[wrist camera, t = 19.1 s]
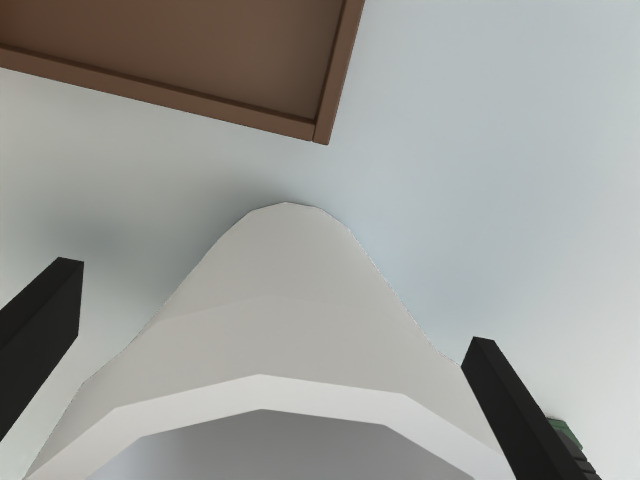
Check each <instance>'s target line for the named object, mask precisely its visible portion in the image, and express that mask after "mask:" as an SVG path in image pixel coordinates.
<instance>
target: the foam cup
mask: <svg viewBox="0 0 640 480" xmlns="http://www.w3.org/2000/svg"><path fill="white" fill-rule="evenodd" d="M22 480H516V478H515V476H514V474H513V472H512V469H511V467H510V465H509V463H508V461H507V459H506V457H505V455H504V453H503V451H502V449H501V447H500V445H499V443H498V441H497V439H496V437H495V435H494V433H493V431H492V429H491V427H490V425H489V423H488V421H487V419H486V417H485V415H484V413H483V411H482V409H481V407H480V405H479V403H478V401H477V399H476V397H475V395H474V393H473V391H472V389H471V387H470V385H469V383H468V381H467V379H466V377H465V376H464V374H463V372H462V370H461V368H460V366H459V365H458V364H456V363H455V362H453V361H452V360H450V359H449V358H447V357H446V356H444V355H443V354H441V353H440V352H438V351H437V350H436V349H435V348H434V346H433V345H432V344H431V342H430V341H429V339H428V338H427V337H426V335H425V334H424V332H423V331H422V330H421V328H420V327H419V325H418V324H417V323H416V321H415V320H414V319H413V317H412V316H411V314H410V313H409V312H408V310H407V309H406V307H405V306H404V305H403V303H402V302H401V301H400V299H399V298H398V296H397V295H396V294H395V292H394V291H393V289H392V288H391V287H390V285H389V284H388V282H387V281H386V280H385V278H384V277H383V276H382V274H381V273H380V271H379V270H378V269H377V267H376V266H375V264H374V263H373V262H372V260H371V259H370V257H369V256H368V255H367V253H366V252H365V251H364V249H363V248H362V246H361V245H360V244H359V242H358V241H357V239H356V238H355V237H354V235H353V234H352V232H350V231H349V229H348V228H347V227H346V226H344V225H343V224H342V223H340V222H339V221H337V220H336V219H335V218H333V217H332V216H330V215H329V214H328V213H326V212H325V211H323V210H322V209H321V208H316V207H311V206H305V205H300V204H294V203H289V202H283V203H279V204H275V205H271V206H267V207H263V208H259V209H255V210H251V211H250V212H249V213H248V214H246V215H245V216H244V217H243V218H242V219H240V220H239V221H238V222H237V223H236V224H234V225H233V226H232V227H231V228H230V229H229V230H227V231H226V232H225V234H224V235H222V236H221V237H220V238H219V240H218V241H217V242H216V243H215V244H214V245H213V247H212V248H211V249H210V250H209V251H208V252H207V254H206V255H205V256H204V257H203V258H202V260H201V261H200V262H199V263H198V264H197V265H196V267H195V268H194V269H193V270H192V271H191V272H190V274H189V275H188V276H187V277H186V278H185V280H184V281H183V282H182V283H181V284H180V285H179V287H178V288H177V289H176V290H175V291H174V292H173V294H172V295H171V296H170V297H169V298H168V300H167V301H166V302H165V303H164V304H163V305H162V307H161V308H160V309H159V310H158V311H157V312H156V314H155V315H154V316H153V317H152V318H151V319H150V321H149V322H148V323H147V324H146V325H145V327H144V328H143V329H142V330H141V331H140V332H139V334H138V335H137V336H136V337H135V338H134V339H133V341H132V342H131V343H130V344H129V345H128V347H127V348H125V349H124V350H123V351H122V352H120V353H119V354H118V355H117V356H116V357H114V358H113V359H112V360H111V361H109V362H108V363H107V364H106V365H105V366H103V367H102V368H101V369H100V370H99V371H97V372H96V373H95V374H94V375H92V376H91V377H90V378H89V379H88V380H86V381H85V382H84V383H83V384H82V386H81V387H80V389H79V390H78V392H77V393H76V395H75V397H74V398H73V400H72V401H71V403H70V405H69V406H68V408H67V409H66V411H65V413H64V414H63V416H62V417H61V419H60V421H59V422H58V424H57V425H56V427H55V428H54V430H53V432H52V433H51V435H50V436H49V438H48V440H47V441H46V443H45V444H44V446H43V448H42V449H41V451H40V452H39V454H38V456H37V457H36V459H35V460H34V462H33V463H32V465H31V467H30V468H29V470H28V471H27V473H26V475H25V476H24V478H23V479H22Z"/></svg>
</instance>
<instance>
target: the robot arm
mask: <svg viewBox="0 0 640 480" xmlns="http://www.w3.org/2000/svg"><path fill="white" fill-rule="evenodd" d="M83 269H84V262H83V261H78V260H72V259H67V258H62V257H58V258H57V259H56V260H55V261H53V262H52V263H51V264H50V265H49V266H48V267H47V268H46V269H45V270H44V271H43V272H42V273H40V274H39V275H38V276H37V277H36V278H35V279H34V280H33V281H32V282H31V283H30V284H28V285H27V286H26V287H25V288H24V289H23V290H22V291H21V292H20V293H19V294H18V295H16V296H15V297H14V298H13V299H12V300H11V301H10V302H9V303H8V304H7V305H6V306H4V307H3V308H2V309H1V310H0V442H1V441H2V439H3V438H4V436H5V435H6V434H7V432H8V431H9V430H10V428H11V427H12V426H13V424H14V423H15V421H16V420H17V419H18V417H19V416H20V415H21V413H22V412H23V410H24V409H25V408H26V406H27V405H28V404H29V402H30V401H31V399H32V398H33V397H34V395H35V394H36V393H37V391H38V390H39V389H40V387H41V386H42V384H43V383H44V382H45V380H46V379H47V378H48V376H49V375H50V373H51V372H52V371H53V369H54V368H55V367H56V365H57V364H58V363H59V361H60V360H61V358H62V357H63V356H64V354H65V353H66V352H67V350H68V349H69V347H70V346H71V345H72V343H73V342H74V341H75V339H76V338H77V336H78V330H79V318H80V306H81V294H82V282H83ZM460 368H461V370H462V372H463V374H464V376H465V377H466V379H467V381H468V383H469V385H470V387H471V389H472V391H473V393H474V395H475V397H476V399H477V401H478V403H479V405H480V407H481V409H482V411H483V413H484V415H485V417H486V419H487V421H488V423H489V425H490V427H491V429H492V431H493V433H494V435H495V437H496V439H497V441H498V443H499V445H500V447H501V449H502V451H503V453H504V455H505V457H506V459H507V461H508V463H509V465H510V467H511V469H512V472H513V474H514V476H515V478H516V480H602V479H601V478H600V477H599V475H597V474H596V471H595V470H594V468H593V467H592V465H591V464H590V463H589V462H587V458H586V457H585V455H584V454H583V453H582V451H581V450H580V448H579V447H578V446H577V444H576V443H575V442H574V441H572V440H571V439H570V438H569V437H568V436H567V435H566V434H565V433H564V432H563V431H561V430H557V429H554V428H553V427H552V425H551V424H550V422H549V421H548V419H547V418H546V417H545V415H544V414H543V412H542V411H541V409H540V408H539V406H538V405H537V403H536V402H535V400H534V399H533V397H532V396H531V394H530V393H529V391H528V390H527V389H526V387H525V386H524V384H523V383H522V381H521V380H520V378H519V377H518V375H517V374H516V372H515V371H514V369H513V368H512V366H511V365H510V364H509V362H508V361H507V359H506V358H505V356H504V355H503V353H502V352H501V350H500V349H499V347H498V346H497V344H496V343H495V341H494V340H490V339H485V338H480V337H474V336H473V339H472V341H471V343H470V346H469V348H468V351H467V353H466V355H465V358H464V360H463V363H462V365H461V367H460Z"/></svg>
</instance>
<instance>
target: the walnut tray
mask: <svg viewBox="0 0 640 480" xmlns="http://www.w3.org/2000/svg"><path fill="white" fill-rule="evenodd" d="M364 2H365V0H0V67H2V68H6V69H10V70H14V71H18V72H22V73H27V74H31V75H35V76H39V77H43V78H47V79H52V80H56V81H60V82H64V83H68V84H72V85H77V86H81V87H85V88H89V89H93V90H97V91H102V92H106V93H110V94H114V95H118V96H122V97H127V98H131V99H135V100H139V101H143V102H147V103H152V104H156V105H160V106H164V107H168V108H172V109H177V110H181V111H185V112H189V113H193V114H197V115H202V116H206V117H210V118H214V119H218V120H222V121H227V122H231V123H235V124H239V125H243V126H247V127H252V128H256V129H260V130H264V131H268V132H272V133H277V134H281V135H285V136H289V137H293V138H297V139H302V140H306V141H312V142H315V143H319V144H323V145H328V144H329V140H330V136H331V132H332V128H333V124H334V121H335V117H336V113H337V109H338V105H339V101H340V97H341V93H342V89H343V85H344V81H345V77H346V73H347V69H348V65H349V61H350V57H351V53H352V50H353V46H354V42H355V38H356V34H357V30H358V26H359V22H360V18H361V14H362V10H363V6H364Z"/></svg>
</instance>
